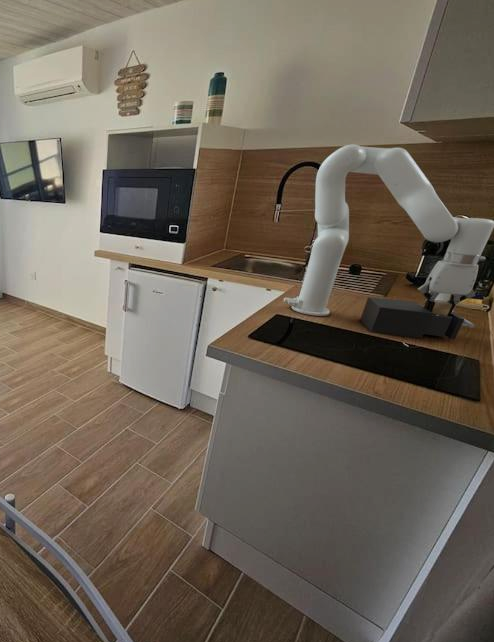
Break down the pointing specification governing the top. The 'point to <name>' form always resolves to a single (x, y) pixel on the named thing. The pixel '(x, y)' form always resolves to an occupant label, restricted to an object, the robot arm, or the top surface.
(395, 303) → the dark grey rectangular box
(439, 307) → the block
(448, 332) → the drawer
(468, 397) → the top surface
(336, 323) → the top surface
